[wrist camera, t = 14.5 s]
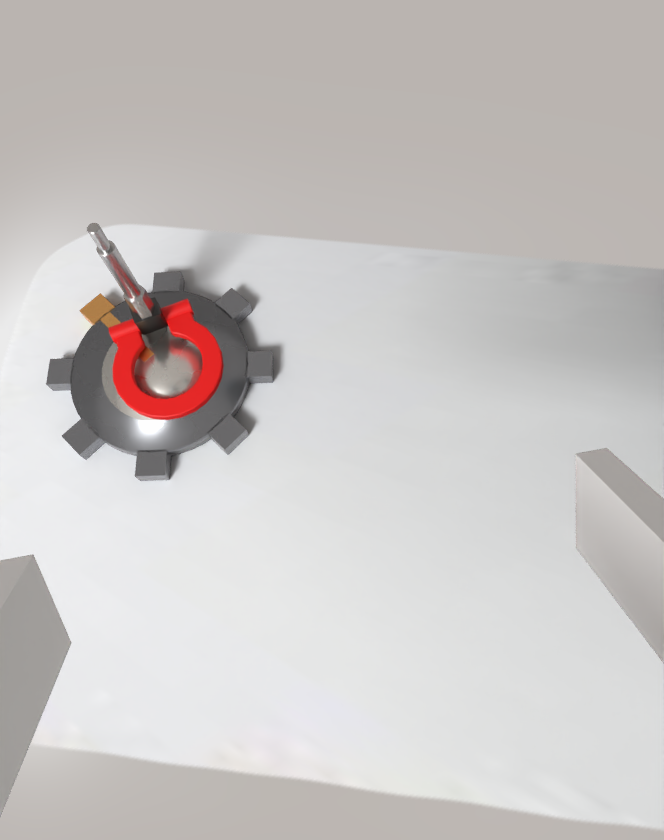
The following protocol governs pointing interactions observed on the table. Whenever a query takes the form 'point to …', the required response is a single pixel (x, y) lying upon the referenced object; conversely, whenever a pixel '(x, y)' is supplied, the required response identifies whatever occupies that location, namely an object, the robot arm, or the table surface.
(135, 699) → the table surface
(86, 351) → the sprocket plate
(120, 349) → the tow hook
